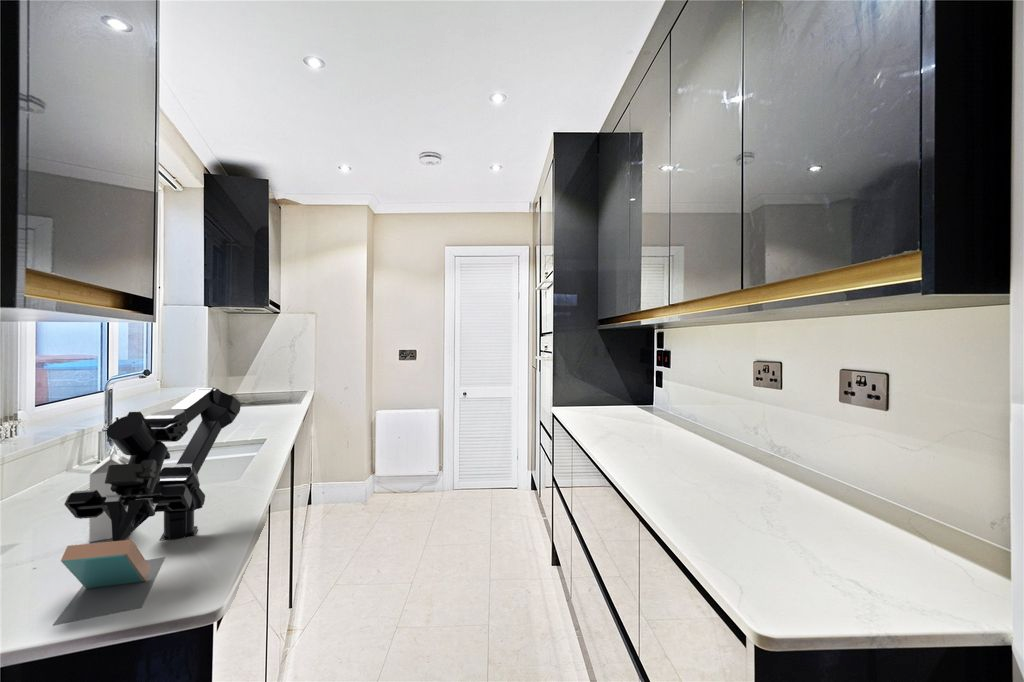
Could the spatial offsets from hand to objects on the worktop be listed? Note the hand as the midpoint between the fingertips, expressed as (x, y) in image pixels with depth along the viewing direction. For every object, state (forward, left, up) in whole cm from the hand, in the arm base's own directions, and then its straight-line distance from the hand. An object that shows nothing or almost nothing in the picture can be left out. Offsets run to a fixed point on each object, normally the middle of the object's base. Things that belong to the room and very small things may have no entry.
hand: (116, 544), depth 86 cm
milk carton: (-31, -8, -8) cm, 33 cm away
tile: (-1, 0, -6) cm, 6 cm away
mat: (+1, 0, -8) cm, 8 cm away
